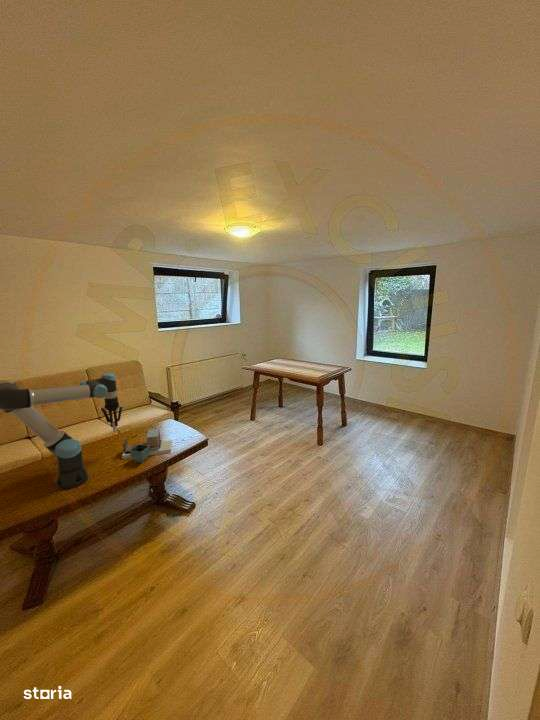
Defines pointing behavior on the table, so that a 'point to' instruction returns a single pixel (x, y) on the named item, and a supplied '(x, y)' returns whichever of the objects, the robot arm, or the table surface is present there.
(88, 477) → the robot arm
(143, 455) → the flower pot
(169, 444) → the board
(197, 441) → the table surface
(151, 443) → the terracotta block
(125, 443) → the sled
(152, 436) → the tunnel
